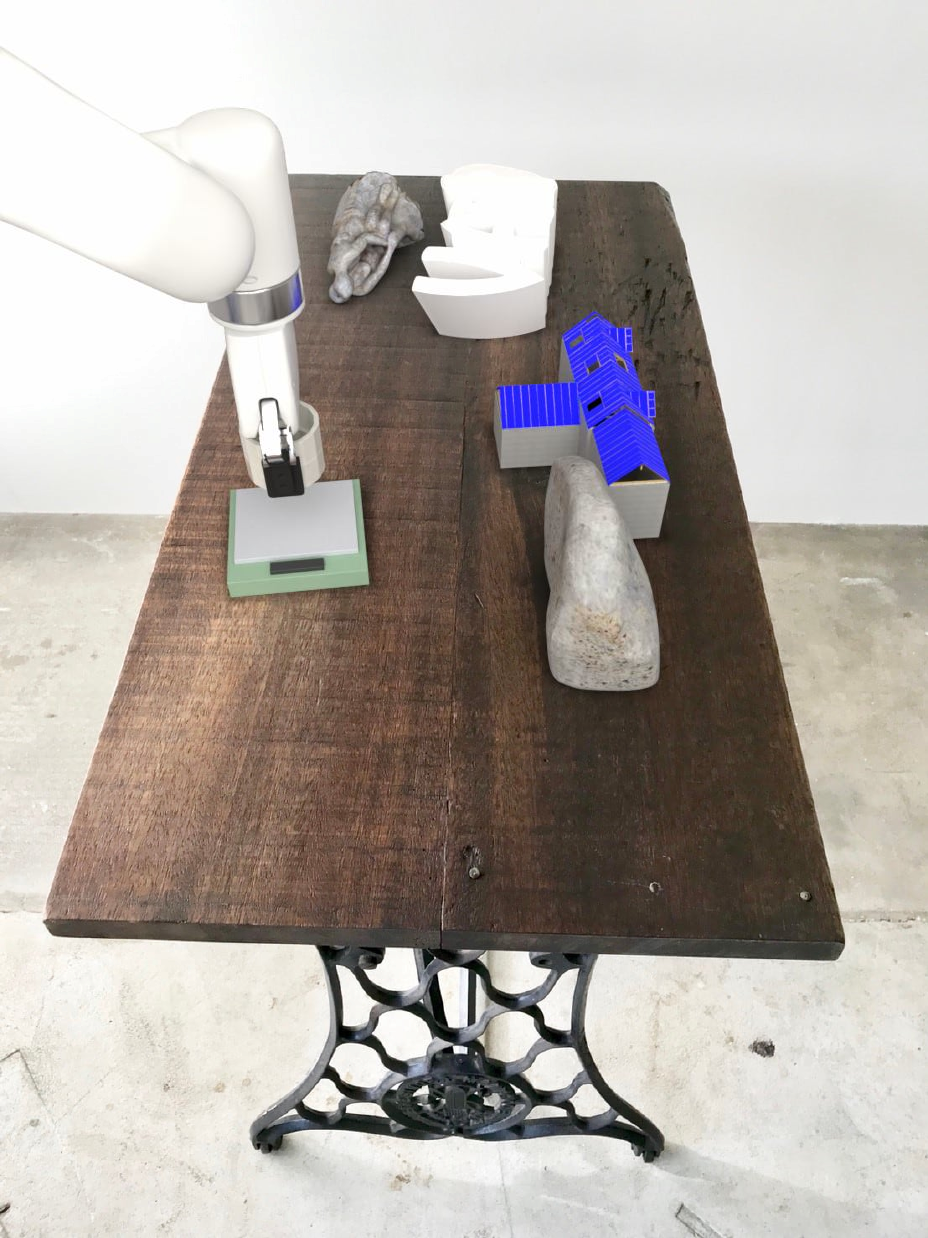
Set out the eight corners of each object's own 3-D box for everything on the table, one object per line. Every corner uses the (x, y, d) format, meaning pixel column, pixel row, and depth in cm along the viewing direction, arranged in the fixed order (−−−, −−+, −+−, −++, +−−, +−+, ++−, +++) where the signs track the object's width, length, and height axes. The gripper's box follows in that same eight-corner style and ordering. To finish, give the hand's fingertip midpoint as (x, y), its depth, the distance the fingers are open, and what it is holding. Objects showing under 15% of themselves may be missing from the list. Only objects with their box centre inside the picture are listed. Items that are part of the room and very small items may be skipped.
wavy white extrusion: (535, 368, 114) (541, 287, 107) (400, 353, 116) (395, 272, 108) (568, 226, 137) (575, 150, 129) (454, 215, 139) (454, 140, 131)
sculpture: (379, 347, 126) (294, 310, 124) (416, 258, 135) (337, 222, 133) (401, 287, 117) (309, 246, 115) (439, 195, 126) (354, 155, 124)
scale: (230, 597, 91) (225, 578, 89) (233, 504, 99) (229, 485, 97) (369, 584, 92) (367, 565, 90) (360, 493, 100) (358, 474, 98)
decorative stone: (661, 710, 82) (544, 714, 82) (625, 544, 95) (524, 548, 95) (697, 577, 70) (559, 582, 69) (650, 407, 82) (533, 410, 82)
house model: (664, 536, 96) (681, 458, 88) (514, 546, 95) (518, 467, 88) (616, 386, 112) (627, 309, 105) (487, 393, 111) (489, 316, 104)
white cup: (249, 500, 86) (238, 450, 82) (250, 450, 90) (239, 401, 86) (327, 493, 87) (320, 443, 82) (324, 444, 91) (317, 395, 87)
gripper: (209, 235, 80) (245, 411, 93) (199, 356, 69) (243, 536, 82) (300, 229, 80) (324, 404, 94) (306, 348, 69) (331, 528, 83)
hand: (286, 464), depth 88 cm, fingers closed on white cup, 7 cm apart
